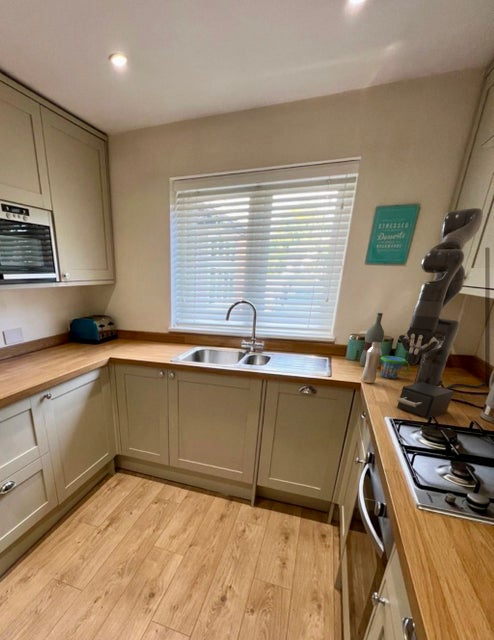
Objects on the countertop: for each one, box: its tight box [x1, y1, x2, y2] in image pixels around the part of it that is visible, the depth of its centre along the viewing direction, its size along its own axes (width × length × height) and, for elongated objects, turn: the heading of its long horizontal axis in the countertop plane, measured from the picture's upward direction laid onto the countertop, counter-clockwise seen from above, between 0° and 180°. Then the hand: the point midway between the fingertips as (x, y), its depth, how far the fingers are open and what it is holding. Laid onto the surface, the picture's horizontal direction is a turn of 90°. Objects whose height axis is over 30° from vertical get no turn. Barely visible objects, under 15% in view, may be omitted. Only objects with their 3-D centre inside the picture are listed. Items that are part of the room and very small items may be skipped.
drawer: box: [396, 388, 432, 417], centre depth 129 cm, size 18×10×7 cm, turn 118°
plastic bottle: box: [360, 342, 383, 384], centre depth 160 cm, size 6×7×20 cm
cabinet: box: [396, 382, 454, 419], centre depth 131 cm, size 14×12×9 cm
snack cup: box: [379, 355, 410, 380], centre depth 171 cm, size 16×10×10 cm
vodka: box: [359, 312, 385, 368], centre depth 188 cm, size 9×9×30 cm
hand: (411, 363), depth 117 cm, fingers closed
